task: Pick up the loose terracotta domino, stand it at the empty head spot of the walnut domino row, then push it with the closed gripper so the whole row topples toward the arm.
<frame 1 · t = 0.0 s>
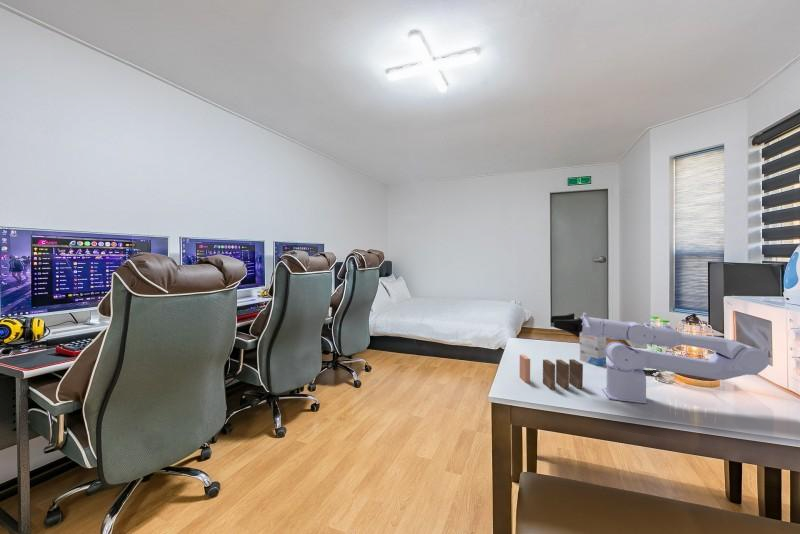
hand: (552, 321, 103), 22 cm above the table, tool horizontal, fingers open, 7 cm apart
walnut domino 4: (575, 385, 105), on the table
ink box: (592, 362, 129), on the table
walnut domino 2: (548, 386, 105), on the table
walnut domino 3: (562, 385, 105), on the table
terracotta domino: (524, 379, 110), on the table
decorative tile: (640, 371, 120), on the table
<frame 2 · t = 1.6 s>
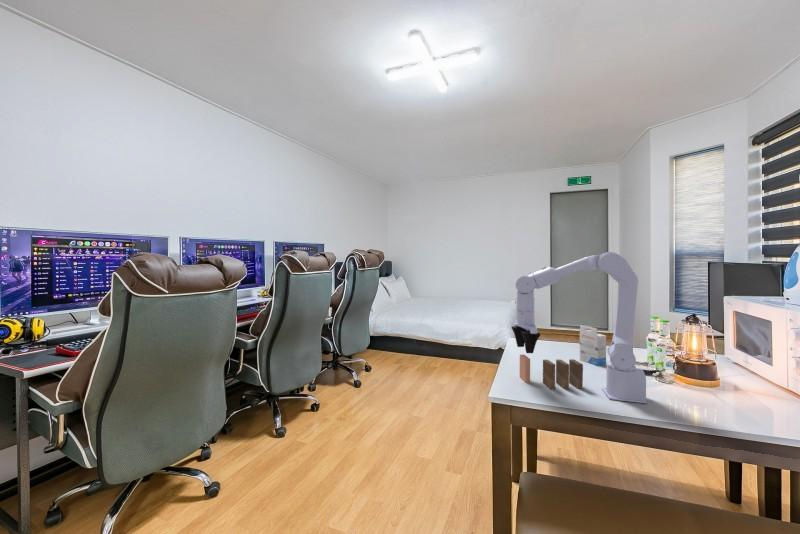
hand: (524, 349, 110), 10 cm above the table, tool pointing down, fingers open, 7 cm apart
nothing on the table moved.
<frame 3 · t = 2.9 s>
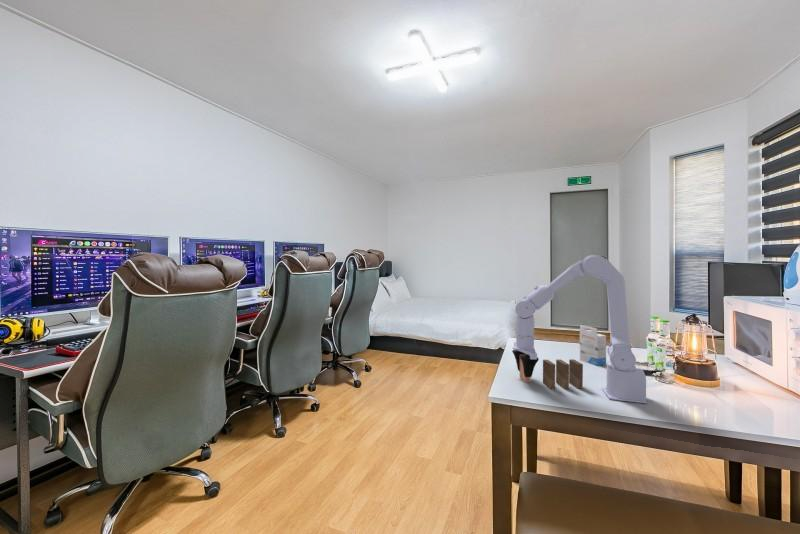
hand: (524, 373, 110), 2 cm above the table, tool pointing down, fingers closed on terracotta domino, 5 cm apart
terracotta domino: (524, 379, 110), on the table, touching gripper
everything else where it was.
when the fingers open (3 cm above the table, at t = 6.5 s): terracotta domino drops 1 cm, on the table.
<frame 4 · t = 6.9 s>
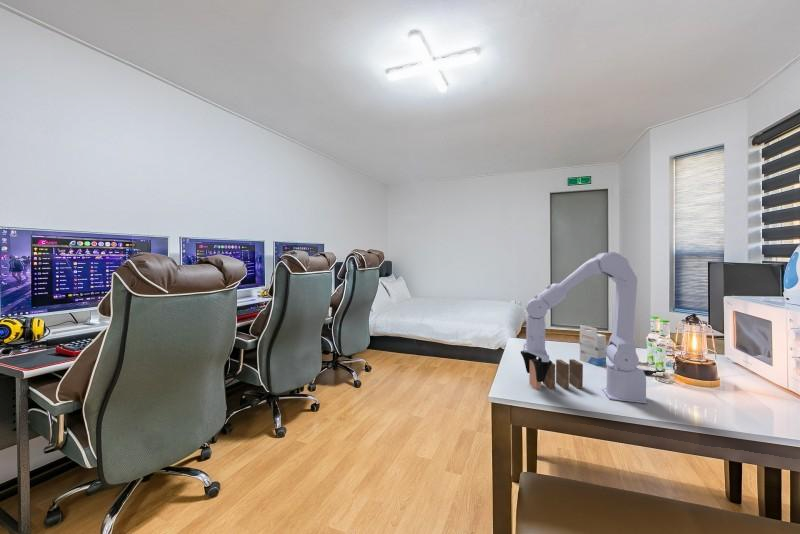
hand: (535, 377, 105), 3 cm above the table, tool pointing down, fingers open, 7 cm apart
terracotta domino: (535, 386, 105), on the table
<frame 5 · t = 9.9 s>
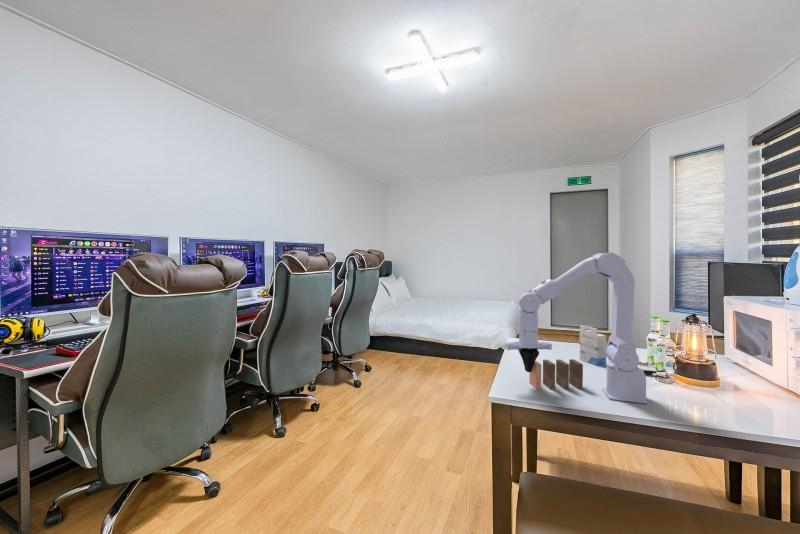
hand: (528, 371, 104), 5 cm above the table, tool pointing down, fingers closed
terracotta domino: (535, 386, 105), on the table, touching gripper
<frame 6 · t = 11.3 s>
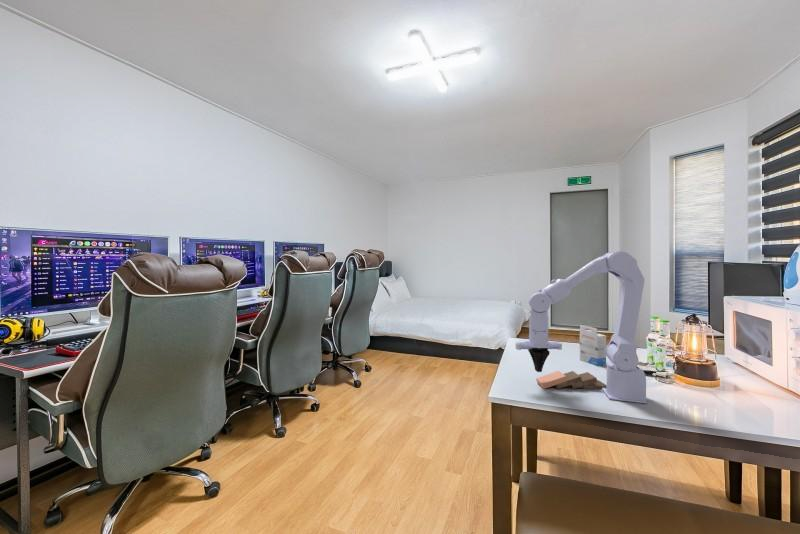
hand: (538, 370, 105), 5 cm above the table, tool pointing down, fingers closed
walnut domino 4: (578, 385, 105), on the table, tilted 90°, touching walnut domino 3
walnut domino 2: (554, 383, 105), point 1 cm above the table, tilted 70°, touching terracotta domino, walnut domino 3
walnut domino 3: (568, 383, 105), point 1 cm above the table, tilted 73°, touching walnut domino 2, walnut domino 4
terracotta domino: (539, 383, 105), point 1 cm above the table, tilted 70°, touching walnut domino 2
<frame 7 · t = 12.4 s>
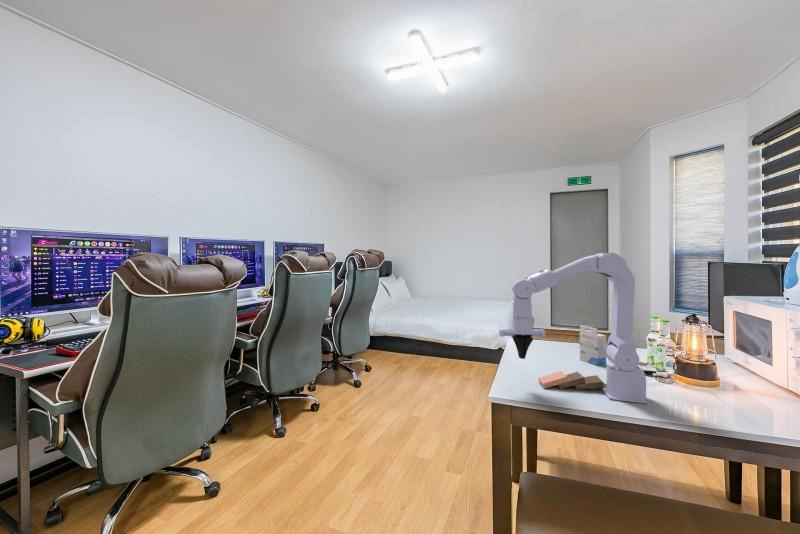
hand: (521, 357, 104), 9 cm above the table, tool pointing down, fingers closed
walnut domino 3: (573, 384, 104), point 1 cm above the table, tilted 77°, touching walnut domino 2, walnut domino 4
terracotta domino: (541, 383, 105), point 1 cm above the table, tilted 71°, touching walnut domino 2
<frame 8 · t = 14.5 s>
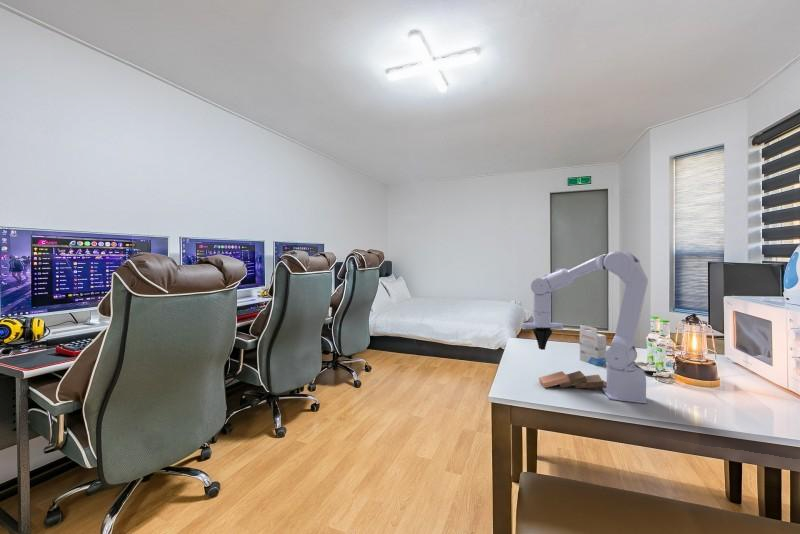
hand: (541, 348, 115), 9 cm above the table, tool pointing down, fingers closed
walnut domino 2: (558, 382, 105), point 1 cm above the table, tilted 68°, touching terracotta domino, walnut domino 3
walnut domino 3: (573, 382, 105), point 1 cm above the table, tilted 76°, touching walnut domino 2, walnut domino 4
at the end: terracotta domino 2.6 cm from the target spot, point 0.7 cm above the table; terracotta domino tilted 71°; walnut domino 4 tilted 90° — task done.
